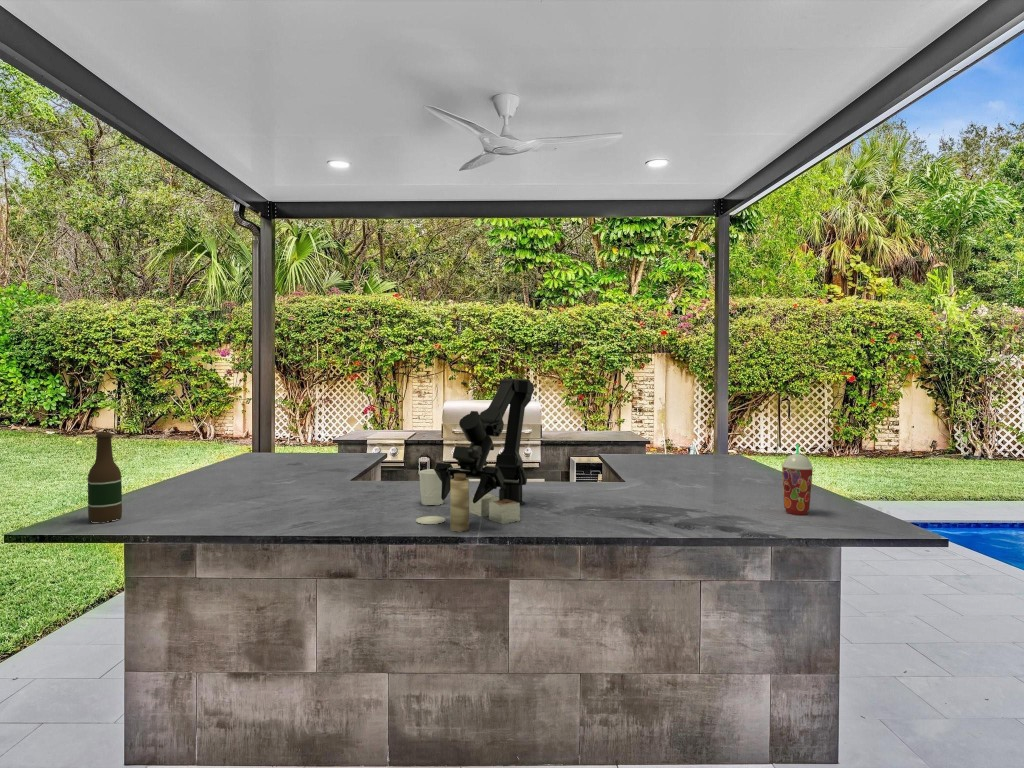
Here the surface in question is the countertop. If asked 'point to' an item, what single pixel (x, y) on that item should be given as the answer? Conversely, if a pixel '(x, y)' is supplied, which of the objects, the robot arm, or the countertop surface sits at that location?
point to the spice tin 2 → (504, 511)
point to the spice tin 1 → (482, 505)
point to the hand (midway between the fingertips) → (457, 500)
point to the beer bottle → (104, 483)
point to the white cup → (430, 488)
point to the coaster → (430, 520)
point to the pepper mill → (459, 502)
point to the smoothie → (797, 483)
